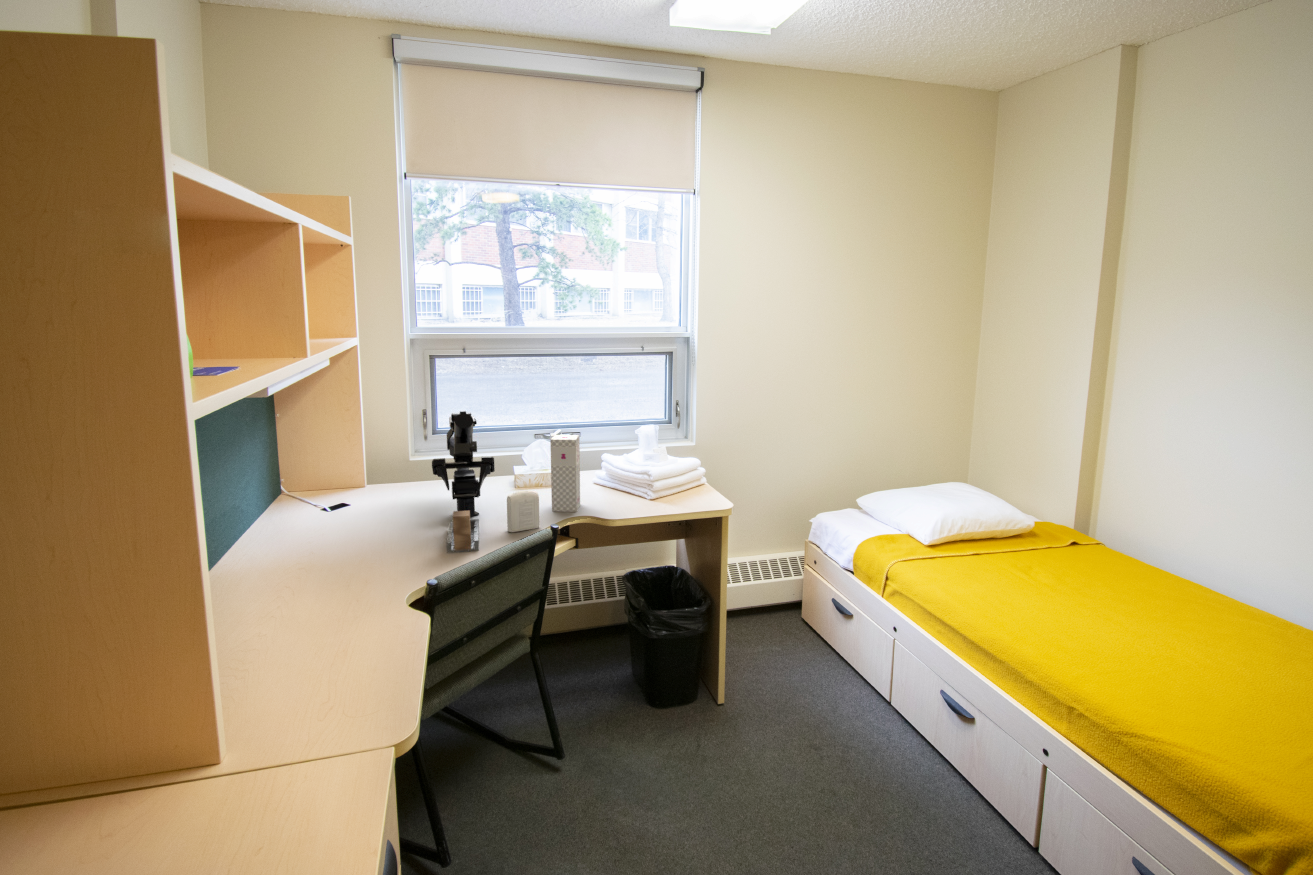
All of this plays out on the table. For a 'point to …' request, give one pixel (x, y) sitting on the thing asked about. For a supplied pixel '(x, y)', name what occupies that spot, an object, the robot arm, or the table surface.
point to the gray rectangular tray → (474, 537)
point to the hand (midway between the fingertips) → (464, 489)
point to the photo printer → (522, 511)
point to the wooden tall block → (462, 530)
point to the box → (565, 473)
